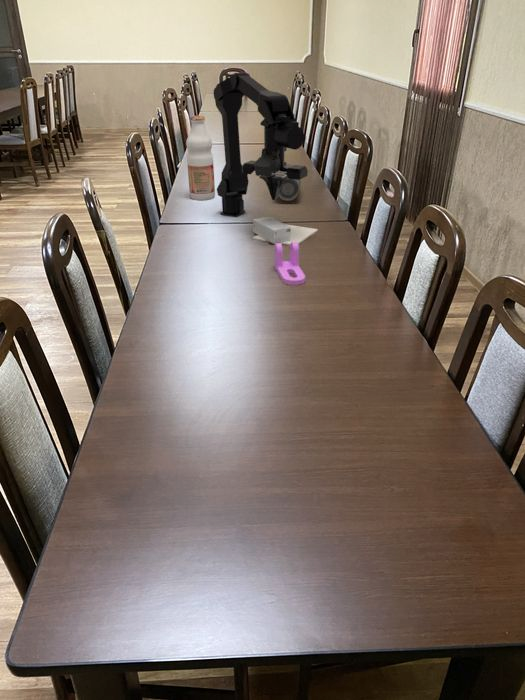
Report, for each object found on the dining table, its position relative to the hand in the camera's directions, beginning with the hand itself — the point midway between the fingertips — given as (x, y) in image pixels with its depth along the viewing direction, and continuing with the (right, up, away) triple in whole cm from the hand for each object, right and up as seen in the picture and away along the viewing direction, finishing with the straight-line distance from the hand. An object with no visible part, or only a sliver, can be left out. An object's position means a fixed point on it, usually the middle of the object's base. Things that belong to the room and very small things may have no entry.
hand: (274, 199), depth 159 cm
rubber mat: (+4, -10, +3) cm, 11 cm away
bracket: (+4, -26, -24) cm, 35 cm away
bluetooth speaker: (+6, +13, +42) cm, 45 cm away
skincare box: (-4, -6, +4) cm, 8 cm away
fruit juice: (-26, +12, +42) cm, 51 cm away
